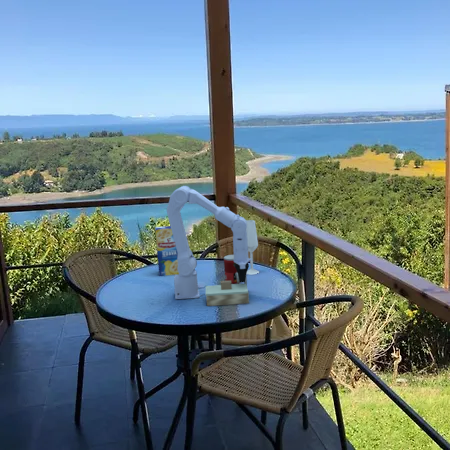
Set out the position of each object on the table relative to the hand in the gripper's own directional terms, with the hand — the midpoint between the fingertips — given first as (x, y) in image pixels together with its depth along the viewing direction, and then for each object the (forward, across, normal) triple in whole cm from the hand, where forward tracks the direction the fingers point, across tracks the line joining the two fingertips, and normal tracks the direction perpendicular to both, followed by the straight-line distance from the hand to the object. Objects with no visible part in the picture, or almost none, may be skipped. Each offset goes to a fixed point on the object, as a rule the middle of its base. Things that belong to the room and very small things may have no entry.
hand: (242, 281), depth 202 cm
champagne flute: (+6, +32, -6) cm, 33 cm away
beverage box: (+6, +40, +32) cm, 51 cm away
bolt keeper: (+5, +4, 0) cm, 7 cm away
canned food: (+6, +20, +2) cm, 20 cm away
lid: (+1, -6, +7) cm, 9 cm away
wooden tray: (+5, -6, +6) cm, 10 cm away
